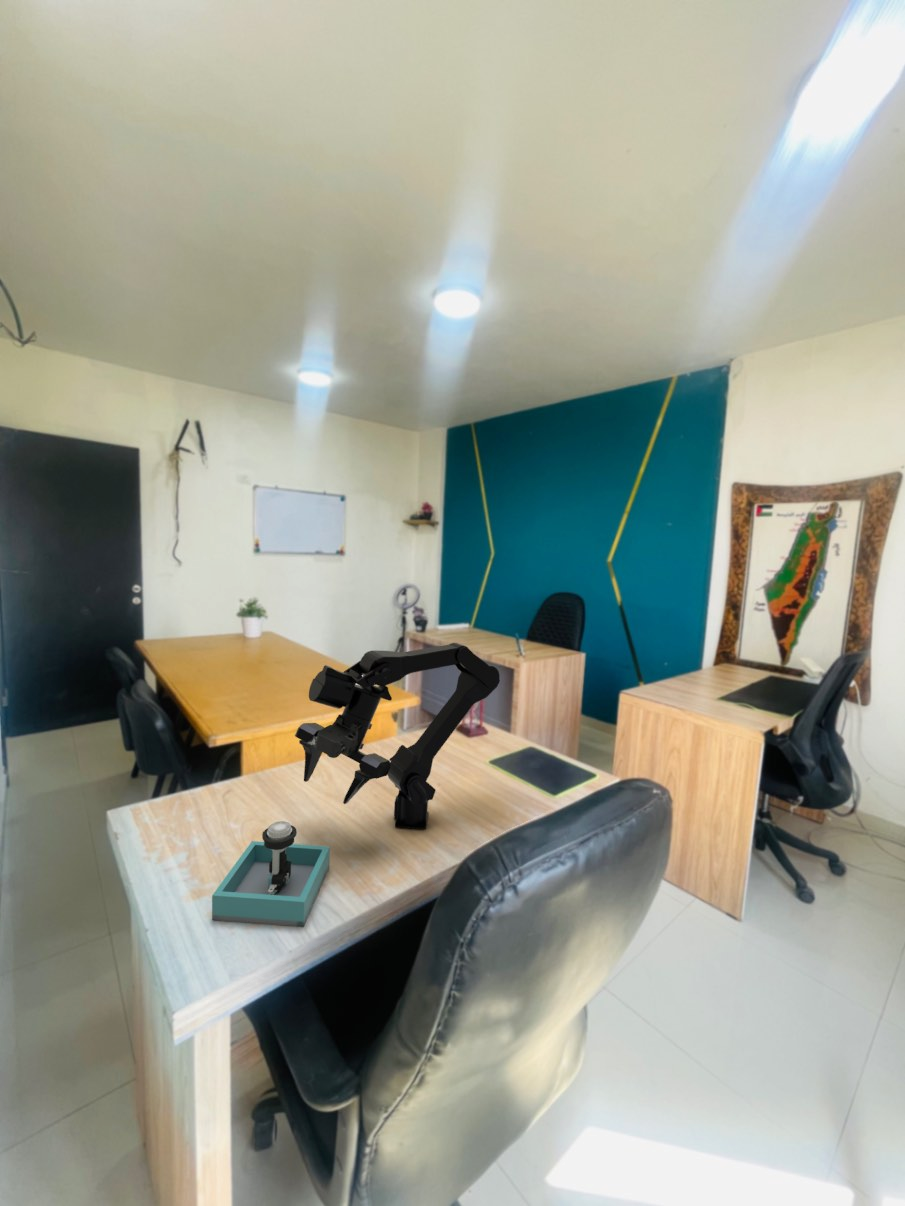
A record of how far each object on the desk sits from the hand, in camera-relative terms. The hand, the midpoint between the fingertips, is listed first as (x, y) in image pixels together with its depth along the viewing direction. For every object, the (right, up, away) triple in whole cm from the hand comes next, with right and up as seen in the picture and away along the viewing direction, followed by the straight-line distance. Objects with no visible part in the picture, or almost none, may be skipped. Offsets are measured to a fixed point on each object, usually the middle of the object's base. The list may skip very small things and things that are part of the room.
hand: (325, 792), depth 94 cm
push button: (-5, -11, -12) cm, 17 cm away
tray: (-5, -12, -12) cm, 18 cm away
